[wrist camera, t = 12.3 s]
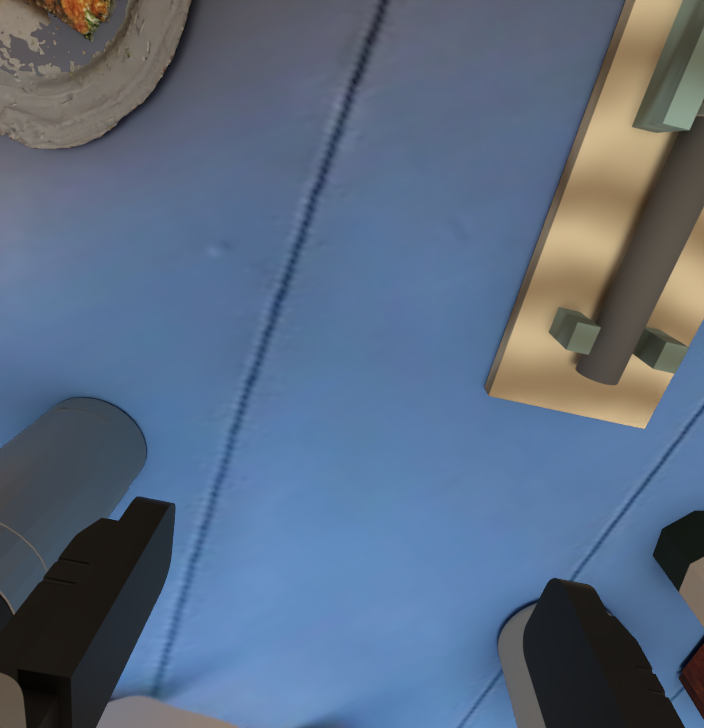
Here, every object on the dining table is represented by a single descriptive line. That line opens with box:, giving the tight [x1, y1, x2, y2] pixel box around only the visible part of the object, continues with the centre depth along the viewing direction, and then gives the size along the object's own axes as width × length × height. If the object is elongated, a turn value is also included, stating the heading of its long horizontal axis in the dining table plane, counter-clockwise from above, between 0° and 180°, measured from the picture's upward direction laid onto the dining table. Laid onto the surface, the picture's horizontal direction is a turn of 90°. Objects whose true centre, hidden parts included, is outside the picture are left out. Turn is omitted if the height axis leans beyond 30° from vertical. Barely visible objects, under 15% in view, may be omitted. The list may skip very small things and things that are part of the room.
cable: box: [575, 99, 704, 385], centre depth 31 cm, size 22×3×3 cm, turn 168°
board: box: [484, 0, 704, 429], centre depth 32 cm, size 30×13×5 cm, turn 168°
